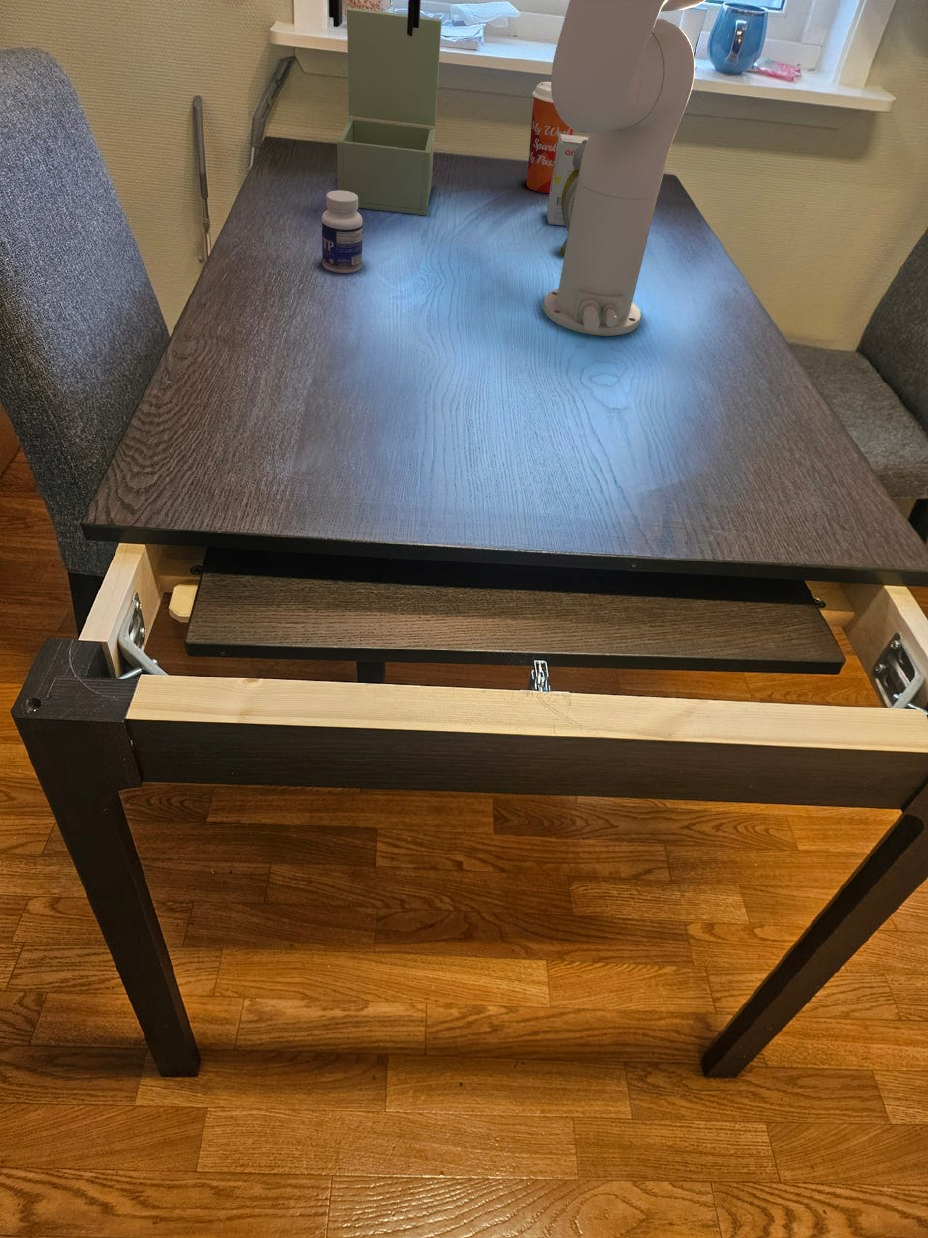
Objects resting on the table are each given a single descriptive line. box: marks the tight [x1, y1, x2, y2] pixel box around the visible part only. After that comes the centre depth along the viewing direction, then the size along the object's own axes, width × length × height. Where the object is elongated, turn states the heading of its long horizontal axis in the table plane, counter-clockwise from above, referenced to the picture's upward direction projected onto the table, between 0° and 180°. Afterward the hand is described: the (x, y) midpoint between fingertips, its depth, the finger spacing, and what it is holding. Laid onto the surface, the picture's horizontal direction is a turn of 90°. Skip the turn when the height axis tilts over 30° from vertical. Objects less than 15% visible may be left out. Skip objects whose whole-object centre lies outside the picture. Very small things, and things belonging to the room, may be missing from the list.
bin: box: [336, 117, 436, 216], centre depth 131 cm, size 14×14×9 cm
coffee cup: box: [526, 81, 575, 194], centre depth 141 cm, size 8×8×15 cm
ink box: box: [546, 134, 589, 227], centre depth 130 cm, size 9×5×12 cm, turn 89°
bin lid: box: [346, 7, 443, 127], centre depth 129 cm, size 14×14×6 cm
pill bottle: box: [321, 190, 364, 274], centre depth 110 cm, size 5×5×9 cm
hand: (374, 29), depth 111 cm, fingers open, 9 cm apart
